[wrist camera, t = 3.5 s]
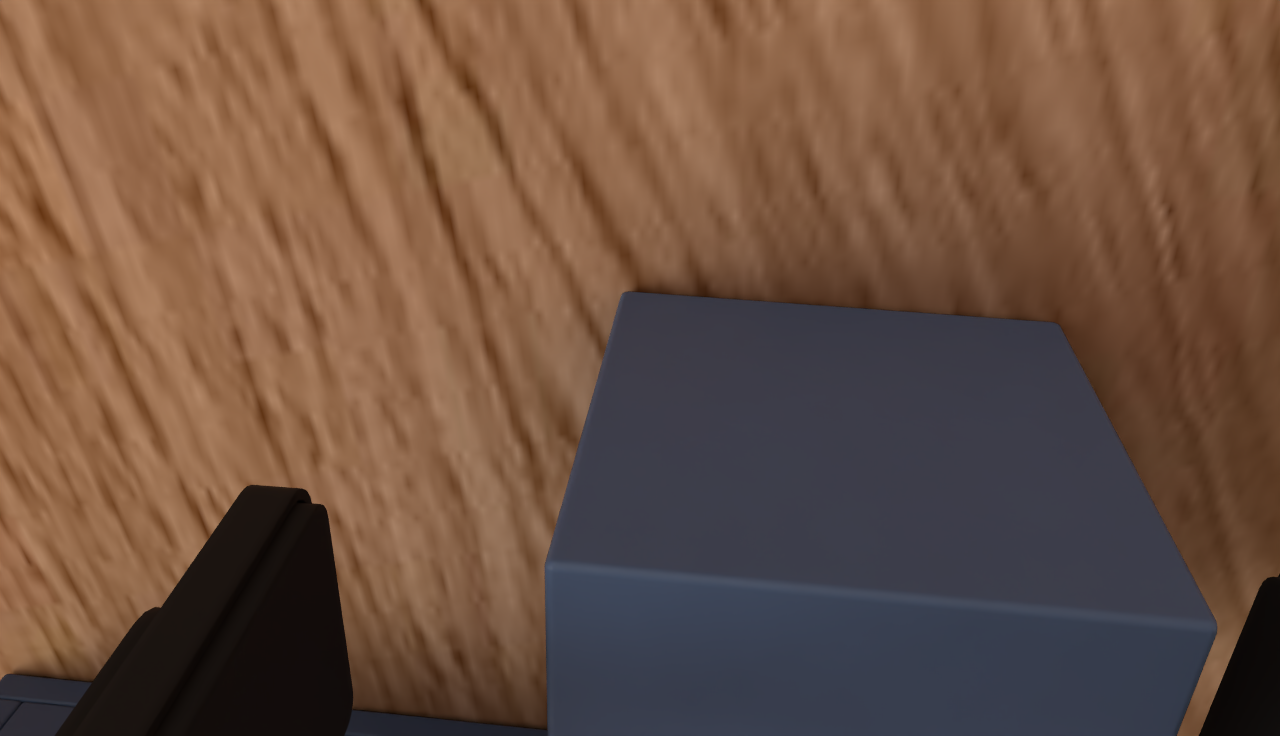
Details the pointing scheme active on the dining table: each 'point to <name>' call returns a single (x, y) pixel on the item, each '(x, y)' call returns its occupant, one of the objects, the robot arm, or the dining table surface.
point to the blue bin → (37, 706)
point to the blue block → (858, 536)
